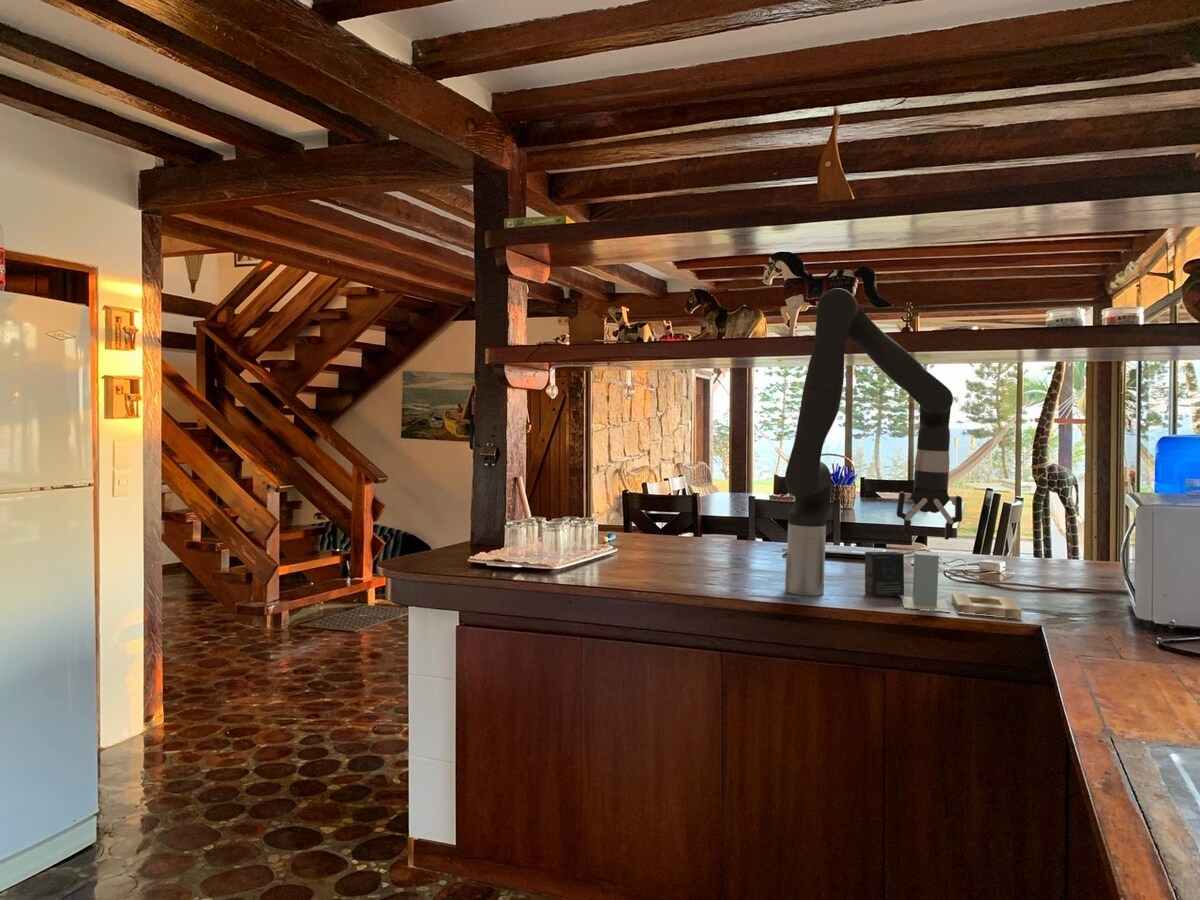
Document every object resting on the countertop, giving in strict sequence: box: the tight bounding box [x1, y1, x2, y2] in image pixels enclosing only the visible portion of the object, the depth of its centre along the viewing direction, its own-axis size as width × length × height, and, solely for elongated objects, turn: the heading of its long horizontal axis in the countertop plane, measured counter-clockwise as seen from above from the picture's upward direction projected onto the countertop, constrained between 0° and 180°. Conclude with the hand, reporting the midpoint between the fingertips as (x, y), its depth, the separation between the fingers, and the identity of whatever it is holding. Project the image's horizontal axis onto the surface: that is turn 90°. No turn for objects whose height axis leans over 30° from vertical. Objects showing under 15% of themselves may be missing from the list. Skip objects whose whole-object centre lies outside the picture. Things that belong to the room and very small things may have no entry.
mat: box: [900, 596, 950, 610], centre depth 196 cm, size 10×12×1 cm
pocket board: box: [951, 592, 1022, 620], centre depth 192 cm, size 13×13×2 cm
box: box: [864, 551, 905, 597], centre depth 205 cm, size 8×6×11 cm
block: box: [912, 550, 940, 607], centre depth 196 cm, size 5×5×12 cm
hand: (927, 537), depth 195 cm, fingers open, 8 cm apart
